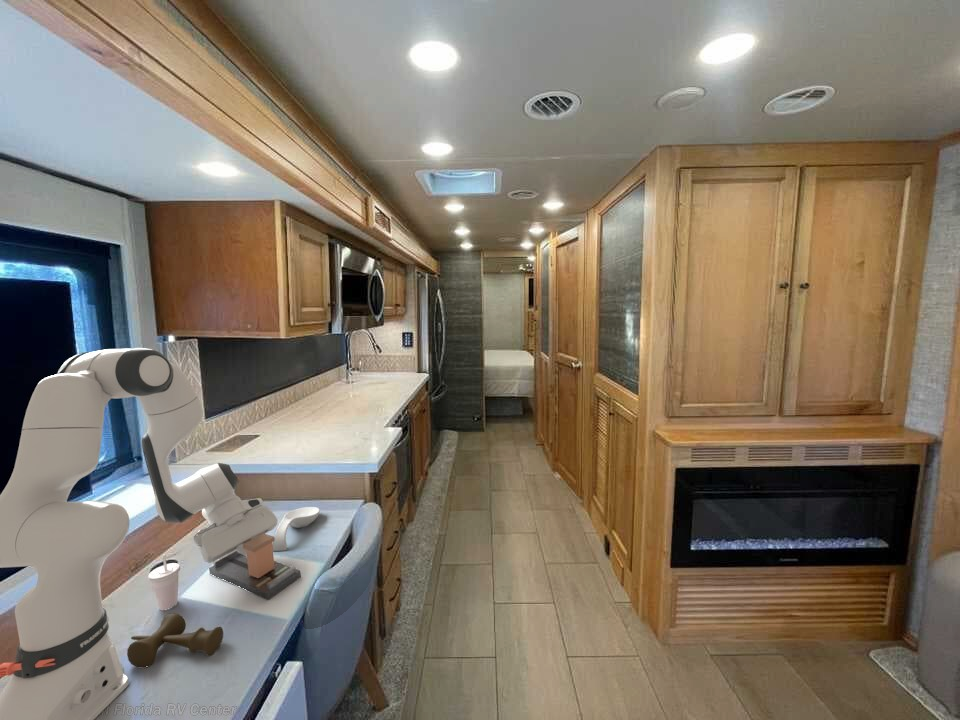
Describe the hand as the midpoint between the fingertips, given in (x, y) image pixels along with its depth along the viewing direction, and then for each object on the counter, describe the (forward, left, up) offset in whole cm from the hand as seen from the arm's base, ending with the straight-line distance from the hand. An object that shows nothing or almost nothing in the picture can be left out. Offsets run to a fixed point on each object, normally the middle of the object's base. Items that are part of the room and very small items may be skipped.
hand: (254, 555), depth 111 cm
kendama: (-24, +8, -7) cm, 26 cm away
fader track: (+1, +1, -6) cm, 6 cm away
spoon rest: (+24, -4, -7) cm, 25 cm away
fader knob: (-1, -2, -4) cm, 5 cm away
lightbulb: (+30, +25, -6) cm, 40 cm away
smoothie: (-8, +18, -6) cm, 21 cm away
